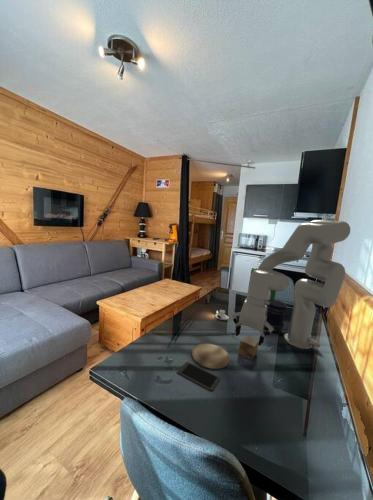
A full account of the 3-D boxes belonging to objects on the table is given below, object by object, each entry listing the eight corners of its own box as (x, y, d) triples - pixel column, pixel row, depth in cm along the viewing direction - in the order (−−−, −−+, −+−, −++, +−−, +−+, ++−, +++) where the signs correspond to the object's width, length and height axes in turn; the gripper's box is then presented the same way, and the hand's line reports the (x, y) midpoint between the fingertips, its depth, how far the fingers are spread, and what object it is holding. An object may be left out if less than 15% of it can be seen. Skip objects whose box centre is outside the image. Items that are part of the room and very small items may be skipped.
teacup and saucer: (228, 322, 120) (229, 315, 120) (214, 319, 122) (215, 312, 121) (228, 315, 129) (229, 309, 128) (215, 313, 130) (216, 306, 130)
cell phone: (186, 362, 82) (186, 361, 82) (220, 379, 75) (221, 377, 75) (175, 373, 76) (176, 371, 76) (212, 393, 69) (212, 391, 69)
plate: (235, 355, 90) (235, 353, 90) (219, 375, 77) (219, 372, 77) (203, 341, 98) (203, 339, 98) (184, 356, 85) (185, 354, 85)
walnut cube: (256, 353, 93) (258, 340, 92) (252, 360, 88) (254, 346, 87) (243, 347, 96) (245, 335, 96) (238, 353, 91) (240, 340, 91)
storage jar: (261, 329, 115) (265, 303, 113) (263, 323, 124) (268, 298, 122) (281, 336, 111) (286, 308, 109) (282, 328, 119) (287, 303, 117)
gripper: (280, 305, 87) (271, 344, 90) (239, 292, 97) (232, 328, 99) (276, 310, 81) (267, 352, 83) (232, 295, 90) (226, 334, 93)
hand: (248, 339), depth 91 cm, fingers open, 9 cm apart
